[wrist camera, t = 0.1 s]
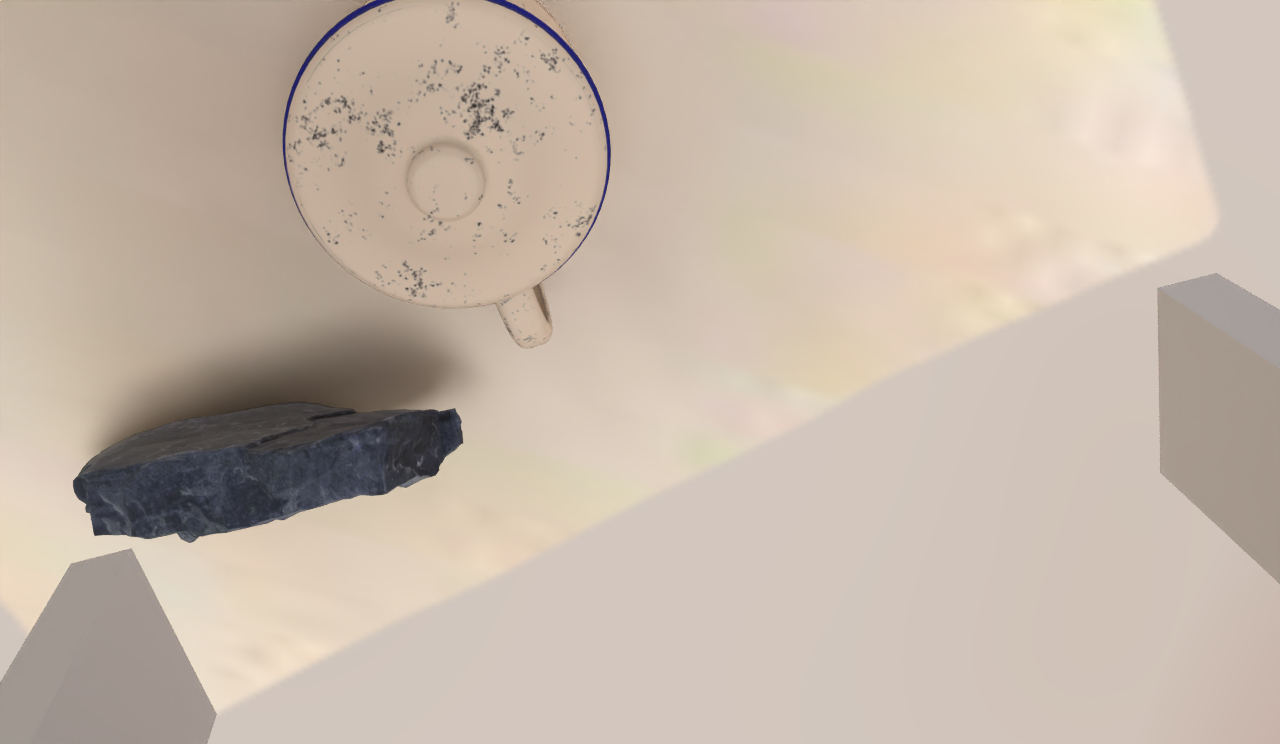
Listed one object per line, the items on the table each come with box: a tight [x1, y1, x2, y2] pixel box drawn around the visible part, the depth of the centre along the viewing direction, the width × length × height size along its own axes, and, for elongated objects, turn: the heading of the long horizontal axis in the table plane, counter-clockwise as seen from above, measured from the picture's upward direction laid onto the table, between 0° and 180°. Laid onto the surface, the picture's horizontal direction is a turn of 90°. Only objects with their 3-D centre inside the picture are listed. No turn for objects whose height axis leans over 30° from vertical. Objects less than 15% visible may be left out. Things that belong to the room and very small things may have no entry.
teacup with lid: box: [283, 0, 611, 348], centre depth 34 cm, size 12×9×12 cm
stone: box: [73, 402, 463, 543], centre depth 39 cm, size 14×6×10 cm, turn 118°
